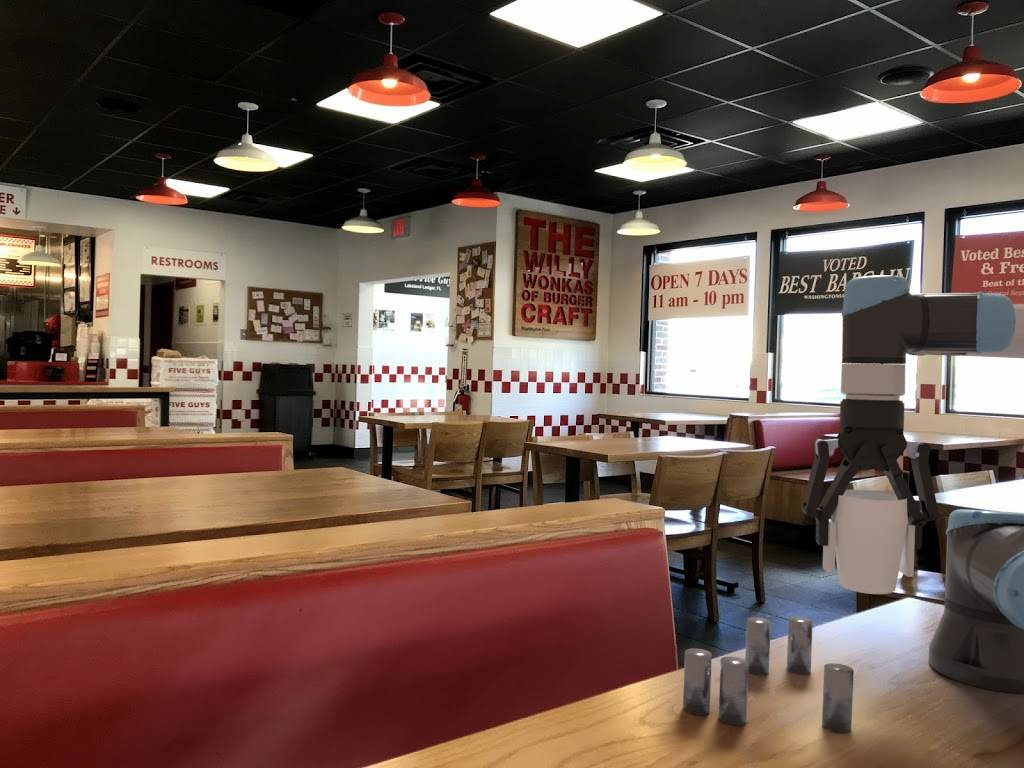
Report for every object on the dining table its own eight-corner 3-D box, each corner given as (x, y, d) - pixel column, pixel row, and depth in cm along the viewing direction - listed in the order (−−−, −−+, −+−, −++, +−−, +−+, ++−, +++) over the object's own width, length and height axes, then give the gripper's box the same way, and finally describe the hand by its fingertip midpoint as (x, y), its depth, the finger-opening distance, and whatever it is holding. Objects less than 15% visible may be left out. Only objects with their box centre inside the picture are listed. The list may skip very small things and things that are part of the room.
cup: (915, 599, 98) (917, 502, 97) (836, 594, 99) (839, 498, 99) (894, 580, 106) (897, 491, 106) (823, 576, 108) (825, 488, 108)
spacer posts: (807, 666, 113) (809, 617, 113) (855, 734, 92) (857, 674, 92) (670, 657, 115) (672, 609, 115) (686, 721, 94) (688, 663, 94)
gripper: (948, 398, 105) (943, 568, 105) (778, 394, 107) (774, 561, 108) (974, 400, 97) (969, 584, 98) (792, 396, 100) (787, 576, 100)
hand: (867, 572), depth 103 cm, fingers closed on cup, 9 cm apart
